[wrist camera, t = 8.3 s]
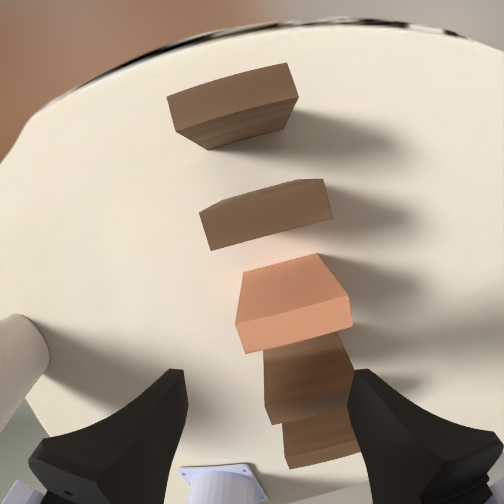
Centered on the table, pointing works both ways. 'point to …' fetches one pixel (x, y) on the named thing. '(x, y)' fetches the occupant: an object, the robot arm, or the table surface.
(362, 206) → the table surface
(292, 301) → the domino
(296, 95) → the domino
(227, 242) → the domino
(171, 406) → the robot arm
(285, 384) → the domino
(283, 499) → the table surface
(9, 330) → the coffee cup
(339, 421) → the domino
